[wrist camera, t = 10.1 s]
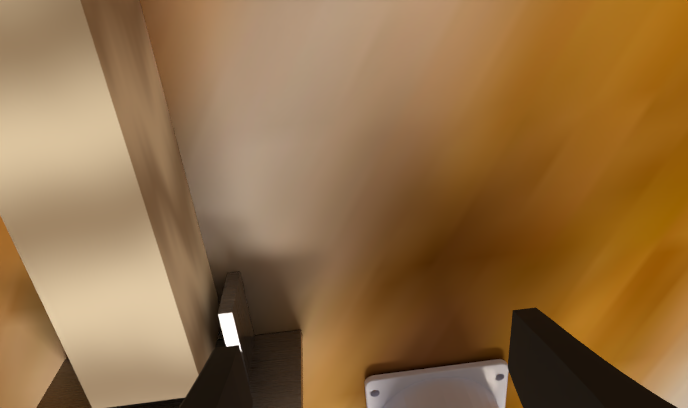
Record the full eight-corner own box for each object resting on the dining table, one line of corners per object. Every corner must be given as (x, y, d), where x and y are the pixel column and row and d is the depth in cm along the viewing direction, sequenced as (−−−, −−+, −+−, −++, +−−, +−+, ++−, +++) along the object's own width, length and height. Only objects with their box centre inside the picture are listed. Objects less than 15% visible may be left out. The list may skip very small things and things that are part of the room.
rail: (222, 315, 24) (204, 395, 19) (132, 326, 24) (93, 410, 19) (127, -47, 17) (63, -51, 12) (-5, -34, 16) (-118, -33, 12)
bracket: (302, 338, 25) (303, 420, 20) (69, 368, 24) (18, 457, 20) (290, 265, 23) (288, 338, 18) (35, 296, 22) (-31, 378, 18)
